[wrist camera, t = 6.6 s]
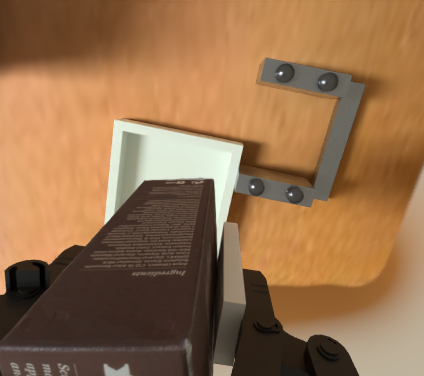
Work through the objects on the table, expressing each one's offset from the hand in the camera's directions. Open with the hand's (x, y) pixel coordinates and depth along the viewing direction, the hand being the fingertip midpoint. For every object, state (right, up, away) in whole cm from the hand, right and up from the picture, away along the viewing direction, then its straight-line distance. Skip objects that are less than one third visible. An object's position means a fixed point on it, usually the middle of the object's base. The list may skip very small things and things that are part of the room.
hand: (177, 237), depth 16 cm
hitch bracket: (+11, +9, +17) cm, 22 cm away
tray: (-3, +3, +19) cm, 20 cm away
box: (0, +1, +2) cm, 2 cm away
